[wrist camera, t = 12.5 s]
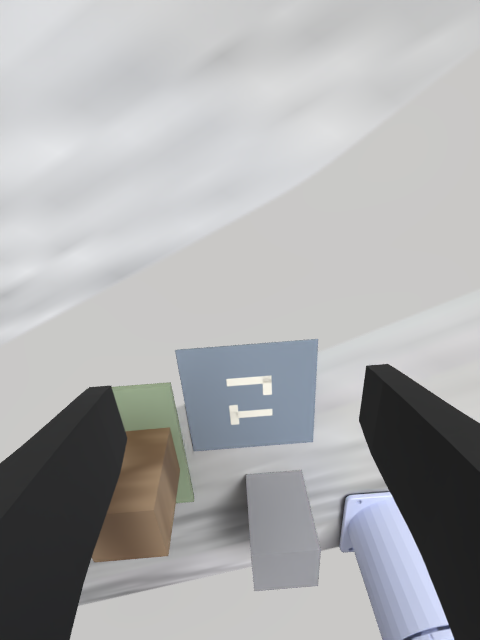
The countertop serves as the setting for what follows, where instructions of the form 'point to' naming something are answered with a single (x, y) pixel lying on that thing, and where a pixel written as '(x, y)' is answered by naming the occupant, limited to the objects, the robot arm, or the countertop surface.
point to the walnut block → (142, 499)
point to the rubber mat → (155, 422)
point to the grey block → (281, 531)
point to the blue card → (249, 393)
